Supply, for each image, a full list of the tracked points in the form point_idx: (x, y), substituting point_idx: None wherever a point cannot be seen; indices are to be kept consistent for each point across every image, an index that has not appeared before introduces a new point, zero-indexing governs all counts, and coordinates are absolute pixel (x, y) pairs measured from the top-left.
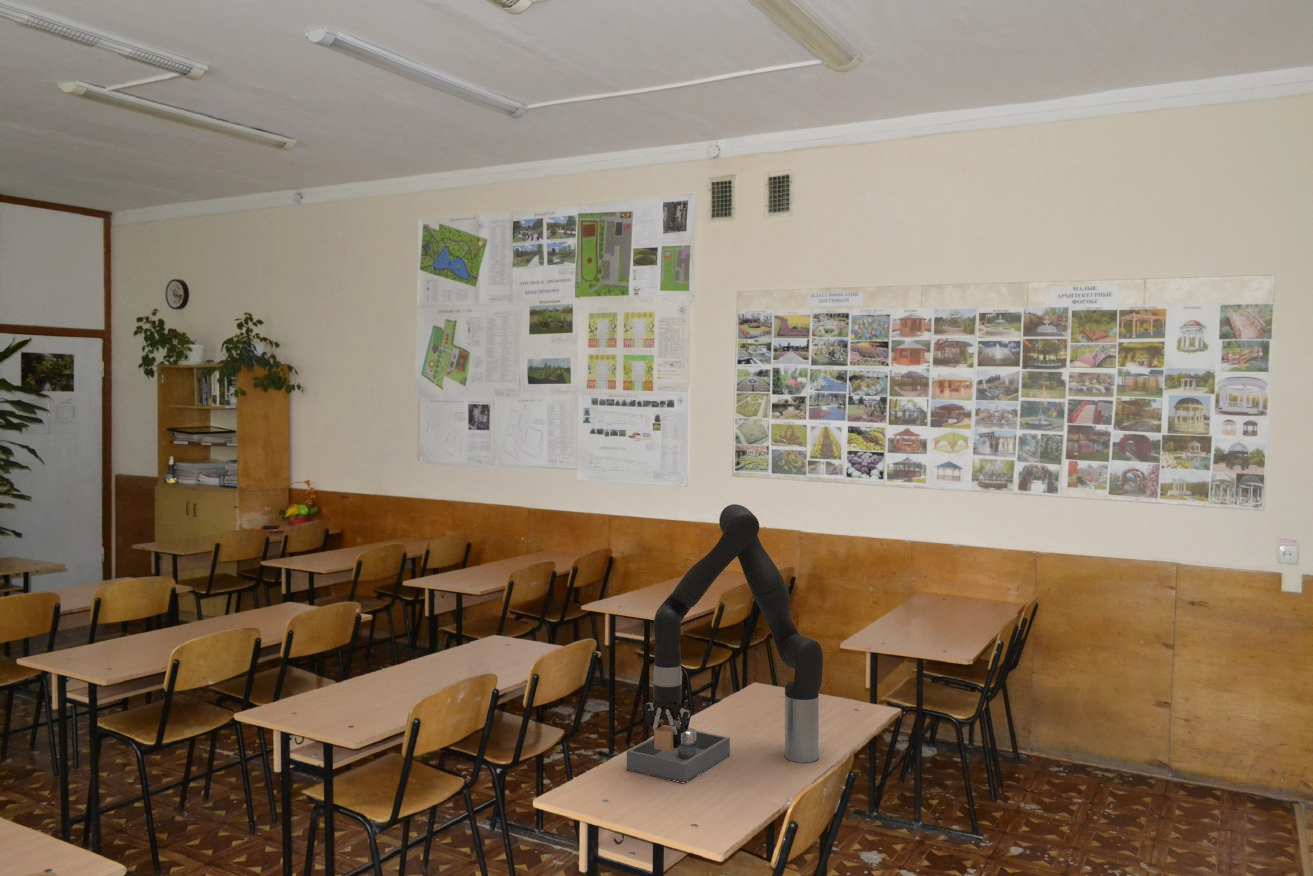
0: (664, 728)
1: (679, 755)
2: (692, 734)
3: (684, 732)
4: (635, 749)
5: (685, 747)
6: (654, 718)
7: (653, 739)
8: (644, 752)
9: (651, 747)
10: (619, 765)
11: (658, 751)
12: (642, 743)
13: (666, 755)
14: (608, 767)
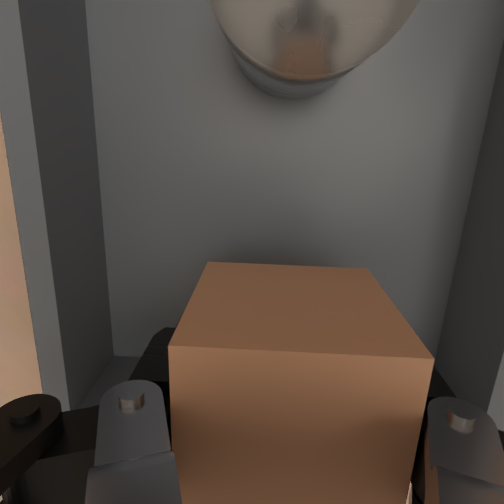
0: (248, 455)
1: (263, 89)
2: (413, 4)
3: (316, 31)
4: (68, 378)
5: (323, 86)
6: (7, 482)
7: (35, 143)
8: (82, 255)
9: (69, 170)
10: (27, 323)
11: (87, 75)
12: (32, 273)
13: (168, 100)
14: (5, 367)
